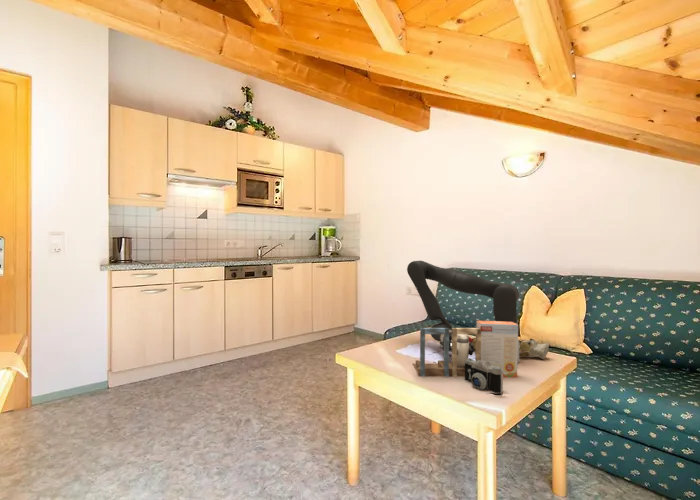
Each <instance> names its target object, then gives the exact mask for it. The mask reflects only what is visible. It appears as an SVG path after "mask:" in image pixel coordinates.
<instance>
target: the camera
mask: <svg viewBox="0 0 700 500" xmlns="http://www.w3.org/2000/svg"><path fill="white" fill-rule="evenodd" d="M464 380H465V381H467V382H470V383H471V384H472V386H473V387H474V388H476V389H477V390H481V391H483V390H489V391H491V392H490V394H491V395H494V396H495V397H496V396H497V397H498V396H499V397H500V396H503V393H504V377H503V373H502V369H501V368H500V367H498V366H492V365H491V364H490V363H489V362H487V361H484V360H477V361H475V360H474V359H472V358H471V357H470V358H469V359H466V361H465V377H464Z"/></svg>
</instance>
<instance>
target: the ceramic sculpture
mask: <svg viewBox="0 0 700 500" xmlns="http://www.w3.org/2000/svg"><path fill="white" fill-rule="evenodd" d="M549 349H550V343H548V342H547V343H539V342H537V340H535V339H533V338H529V340H523V341H521V342H519V358H539V359H542V360H544V359H546V357H547V356H548V355H547V354H548V353H549Z"/></svg>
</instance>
